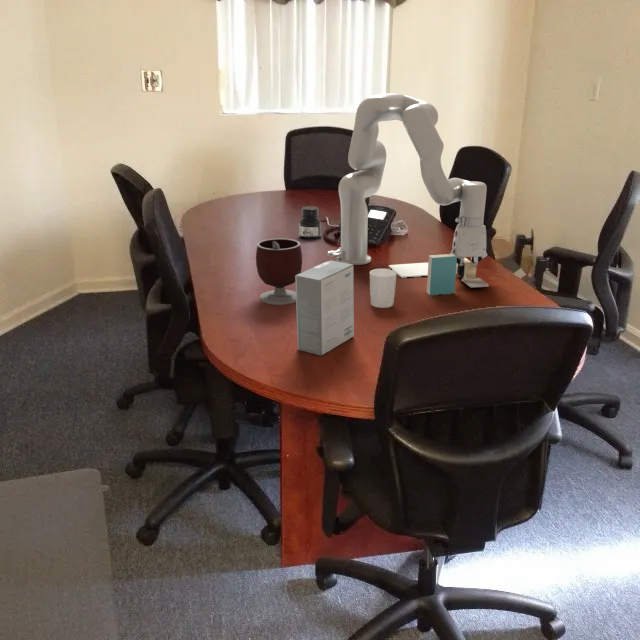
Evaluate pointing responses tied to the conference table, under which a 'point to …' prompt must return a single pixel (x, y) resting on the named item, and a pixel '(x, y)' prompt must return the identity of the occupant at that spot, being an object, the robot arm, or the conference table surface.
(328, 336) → the hard drive box
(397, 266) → the mat
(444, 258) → the tile
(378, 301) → the white cup
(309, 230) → the ink bottle
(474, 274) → the cream block on base
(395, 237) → the conference table surface
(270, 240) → the mate gourd
